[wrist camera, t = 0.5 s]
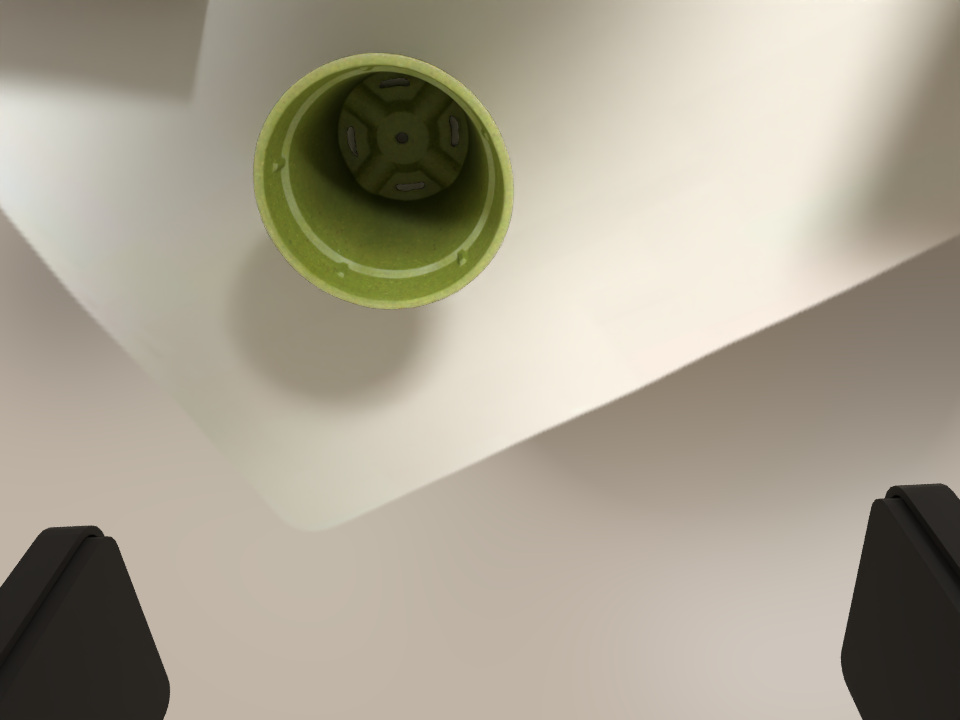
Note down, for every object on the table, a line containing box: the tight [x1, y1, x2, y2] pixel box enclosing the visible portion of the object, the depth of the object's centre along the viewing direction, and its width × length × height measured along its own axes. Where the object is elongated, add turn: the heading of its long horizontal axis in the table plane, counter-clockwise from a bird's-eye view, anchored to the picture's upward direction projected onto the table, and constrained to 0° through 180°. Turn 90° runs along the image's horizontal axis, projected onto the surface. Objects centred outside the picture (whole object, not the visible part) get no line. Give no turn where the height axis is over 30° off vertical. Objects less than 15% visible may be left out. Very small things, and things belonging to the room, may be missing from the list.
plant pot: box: [253, 53, 514, 309], centre depth 33 cm, size 9×9×9 cm
